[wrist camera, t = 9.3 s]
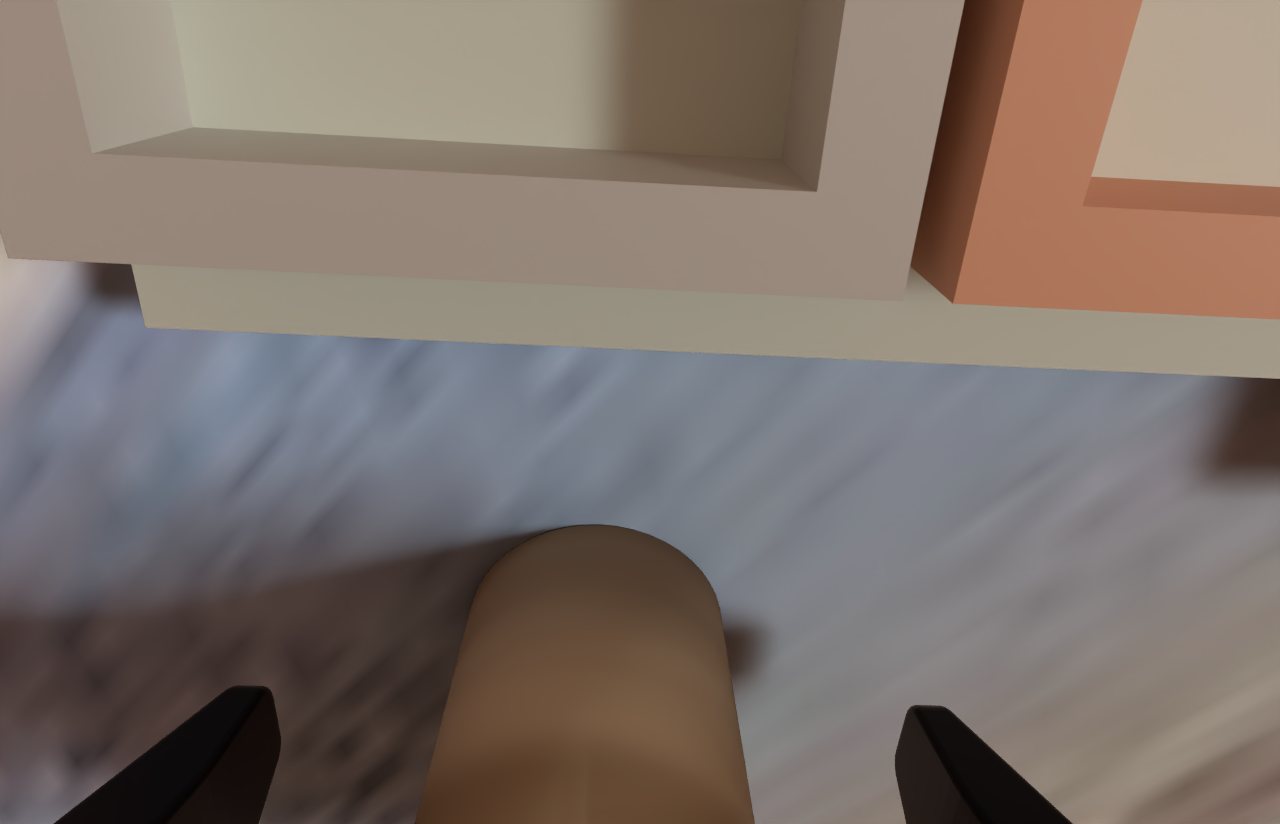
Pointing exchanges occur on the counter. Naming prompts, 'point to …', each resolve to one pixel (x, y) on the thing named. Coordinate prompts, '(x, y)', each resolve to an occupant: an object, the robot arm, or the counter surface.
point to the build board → (669, 172)
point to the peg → (590, 692)
